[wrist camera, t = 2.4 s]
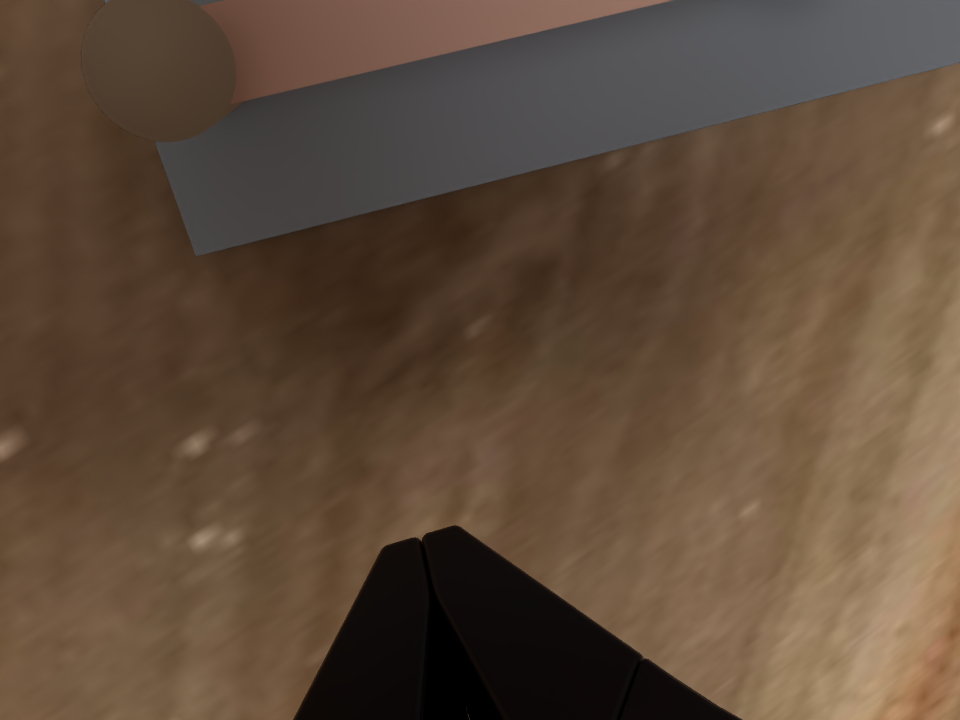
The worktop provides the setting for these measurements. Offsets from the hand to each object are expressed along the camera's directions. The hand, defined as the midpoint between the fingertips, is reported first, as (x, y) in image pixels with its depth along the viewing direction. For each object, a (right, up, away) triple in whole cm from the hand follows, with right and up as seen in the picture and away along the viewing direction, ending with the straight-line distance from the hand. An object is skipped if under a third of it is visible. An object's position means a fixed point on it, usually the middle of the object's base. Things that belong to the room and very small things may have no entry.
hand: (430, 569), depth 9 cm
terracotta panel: (0, +8, +5) cm, 9 cm away
